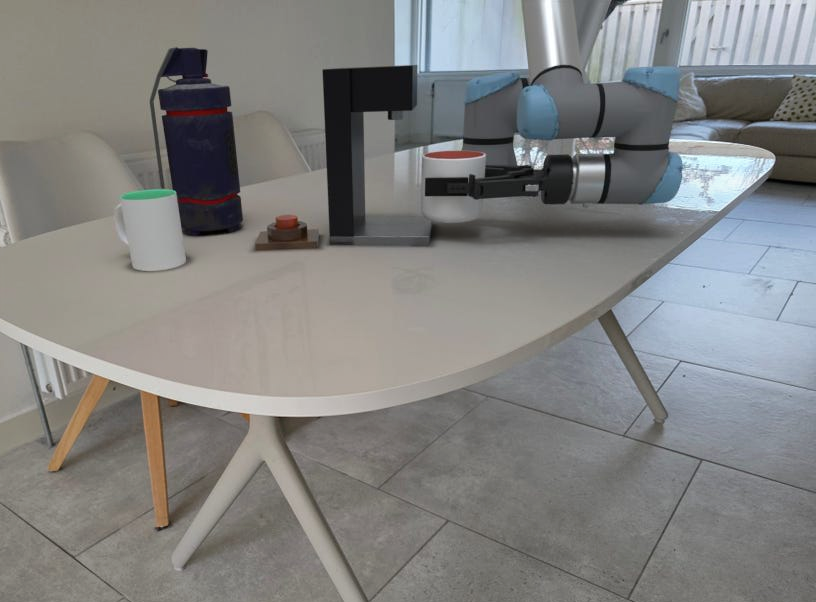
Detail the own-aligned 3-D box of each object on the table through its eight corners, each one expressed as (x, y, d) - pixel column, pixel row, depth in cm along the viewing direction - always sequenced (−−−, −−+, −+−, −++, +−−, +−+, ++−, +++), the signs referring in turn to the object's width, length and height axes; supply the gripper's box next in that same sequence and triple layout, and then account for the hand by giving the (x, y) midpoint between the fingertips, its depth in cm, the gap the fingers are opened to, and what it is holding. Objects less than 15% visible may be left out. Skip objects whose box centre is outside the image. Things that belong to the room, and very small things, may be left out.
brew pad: (319, 236, 107) (318, 218, 105) (317, 248, 99) (316, 230, 98) (261, 238, 107) (259, 220, 106) (255, 250, 100) (253, 232, 98)
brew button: (298, 224, 104) (298, 214, 103) (297, 230, 100) (296, 219, 100) (277, 225, 104) (276, 215, 103) (275, 230, 100) (274, 220, 100)
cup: (487, 223, 98) (492, 157, 94) (424, 226, 98) (425, 160, 94) (475, 210, 107) (479, 149, 103) (417, 212, 107) (418, 151, 103)
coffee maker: (432, 225, 111) (436, 63, 99) (428, 245, 98) (433, 64, 87) (343, 224, 113) (338, 68, 102) (329, 245, 101) (322, 69, 90)
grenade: (238, 218, 121) (220, 47, 108) (248, 232, 111) (230, 44, 98) (166, 226, 118) (138, 50, 105) (169, 241, 107) (139, 47, 94)
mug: (102, 264, 96) (88, 196, 91) (140, 251, 102) (129, 186, 98) (160, 273, 90) (148, 201, 86) (197, 258, 97) (187, 190, 92)
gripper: (579, 220, 89) (422, 220, 92) (556, 190, 109) (428, 191, 112) (586, 165, 85) (423, 168, 89) (561, 145, 105) (429, 147, 109)
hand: (426, 180), depth 101 cm, fingers closed on cup, 10 cm apart
